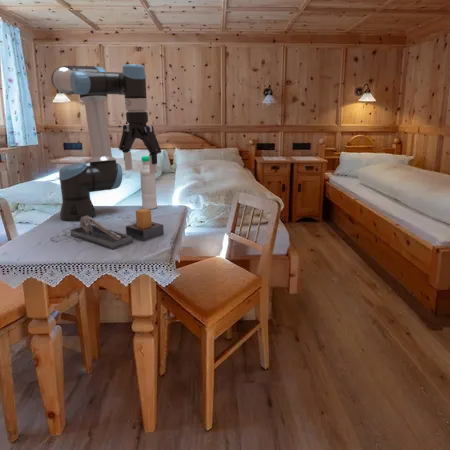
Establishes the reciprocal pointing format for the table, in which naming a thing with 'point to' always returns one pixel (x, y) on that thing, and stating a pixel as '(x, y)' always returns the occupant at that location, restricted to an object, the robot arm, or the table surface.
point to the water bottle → (148, 185)
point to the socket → (145, 231)
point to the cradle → (101, 237)
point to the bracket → (90, 220)
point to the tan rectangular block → (143, 218)
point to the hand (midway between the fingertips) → (140, 171)
